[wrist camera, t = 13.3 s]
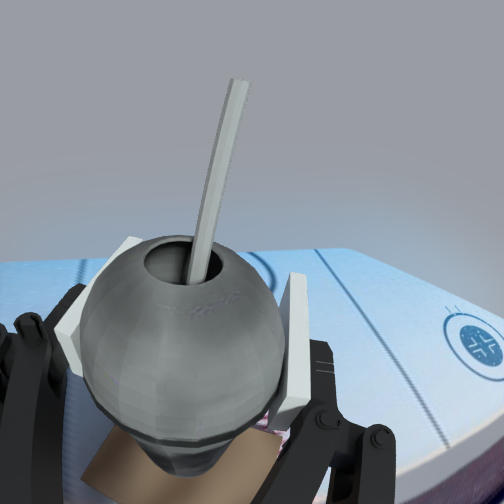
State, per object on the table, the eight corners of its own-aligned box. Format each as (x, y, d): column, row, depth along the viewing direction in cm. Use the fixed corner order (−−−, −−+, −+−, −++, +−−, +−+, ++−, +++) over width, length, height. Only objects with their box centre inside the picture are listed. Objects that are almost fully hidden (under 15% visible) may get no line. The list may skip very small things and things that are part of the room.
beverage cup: (108, 439, 15) (4, 85, 4) (184, 386, 20) (209, 76, 9) (186, 517, 12) (147, 58, 1) (259, 448, 17) (412, 126, 6)
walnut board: (85, 482, 16) (80, 479, 15) (144, 390, 26) (142, 383, 25) (241, 550, 14) (244, 551, 13) (278, 442, 24) (282, 436, 23)
